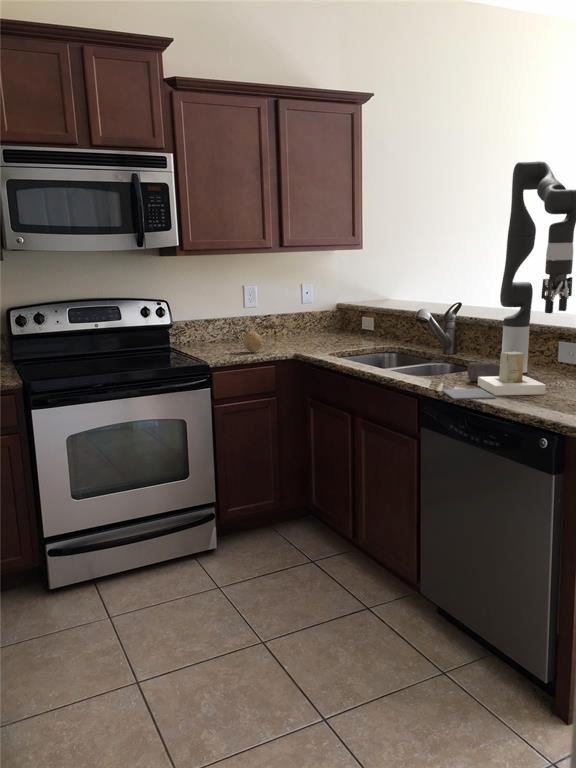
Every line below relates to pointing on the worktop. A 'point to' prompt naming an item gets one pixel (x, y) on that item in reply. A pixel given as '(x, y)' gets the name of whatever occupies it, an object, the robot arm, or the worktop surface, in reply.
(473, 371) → the perforated stone tool
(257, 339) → the natural sponge
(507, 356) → the skincare box
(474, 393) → the mat
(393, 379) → the worktop surface
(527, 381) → the holder
